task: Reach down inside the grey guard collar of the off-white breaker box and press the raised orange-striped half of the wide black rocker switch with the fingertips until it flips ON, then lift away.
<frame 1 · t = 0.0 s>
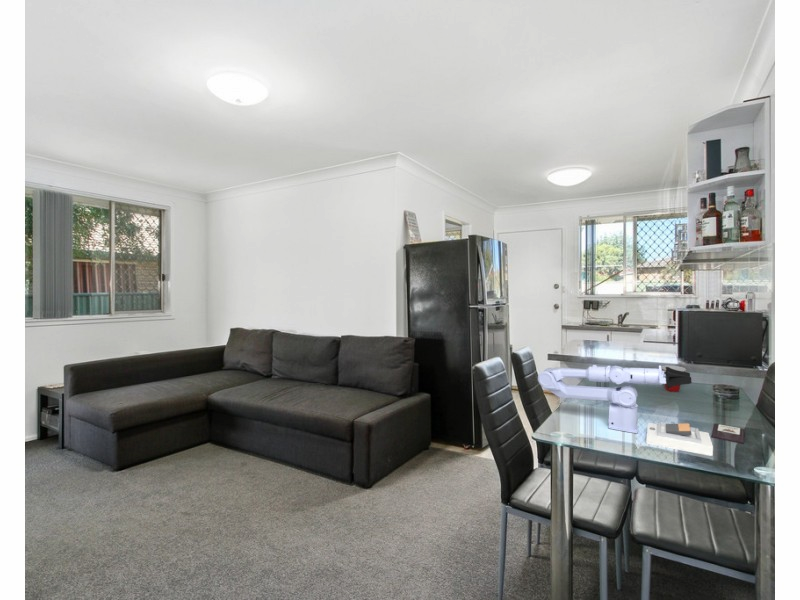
hand: (690, 378, 145), 22 cm above the table, tool horizontal, fingers open, 7 cm apart
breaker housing: (677, 442, 143), on the table
rocker: (678, 430, 143), point 4 cm above the table, hinge at -12.0°
plastic cup: (672, 390, 214), on the table
chocolate bar: (728, 435, 153), on the table
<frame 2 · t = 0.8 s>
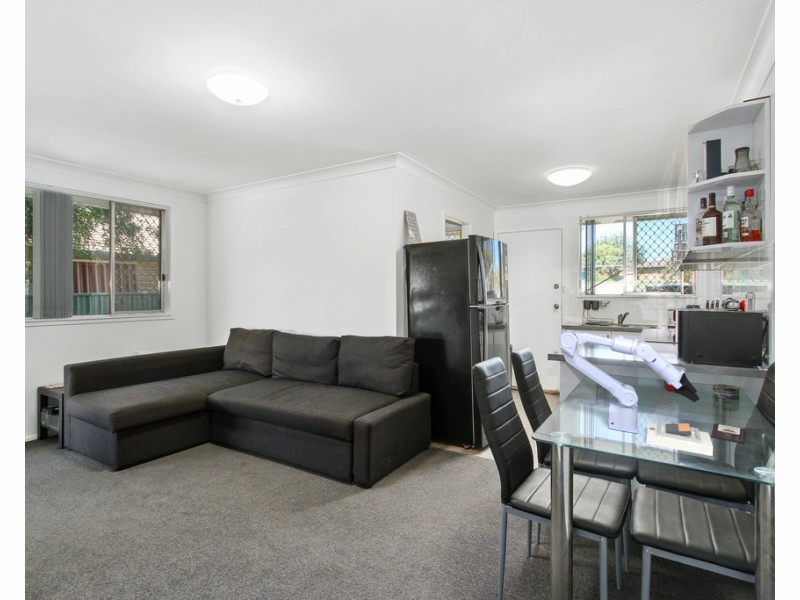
hand: (695, 396, 146), 15 cm above the table, tool tilted 50°, fingers open, 7 cm apart
nothing on the table moved.
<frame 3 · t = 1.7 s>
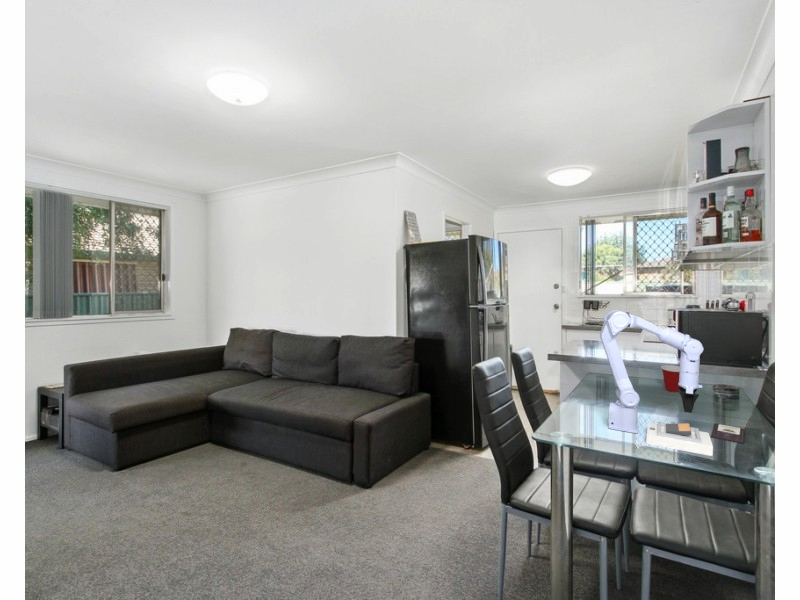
hand: (687, 409, 150), 9 cm above the table, tool pointing down, fingers open, 7 cm apart
nothing on the table moved.
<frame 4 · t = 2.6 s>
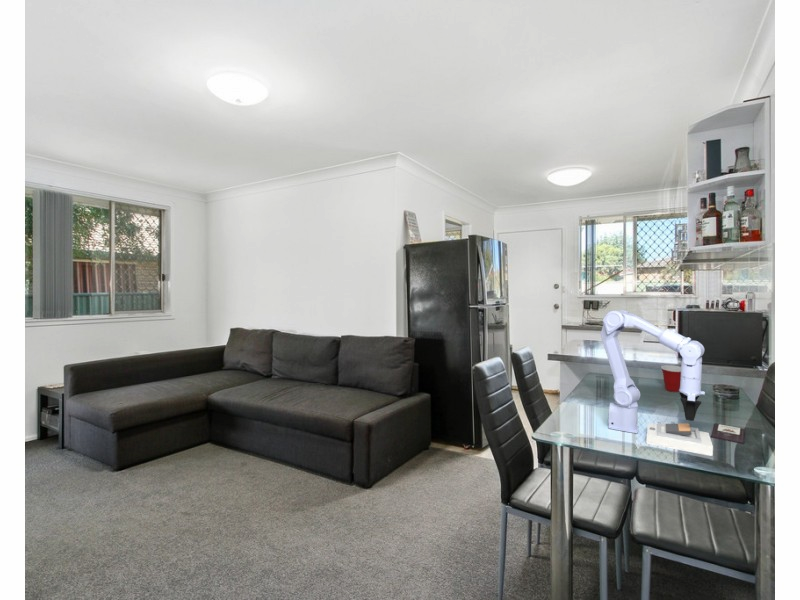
hand: (688, 417, 141), 9 cm above the table, tool pointing down, fingers open, 7 cm apart
nothing on the table moved.
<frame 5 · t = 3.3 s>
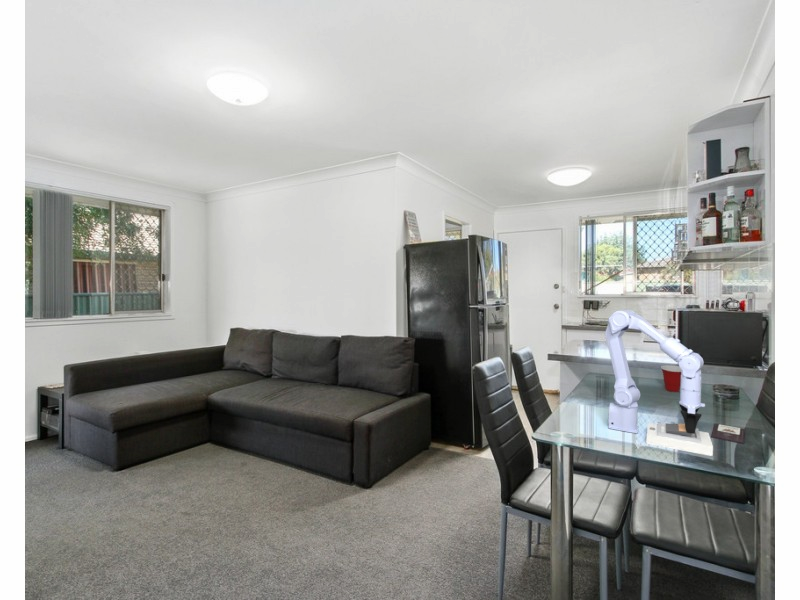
hand: (689, 429, 141), 5 cm above the table, tool pointing down
rocker: (678, 430, 143), point 4 cm above the table, hinge at -9.9°, touching gripper
everything else where it was.
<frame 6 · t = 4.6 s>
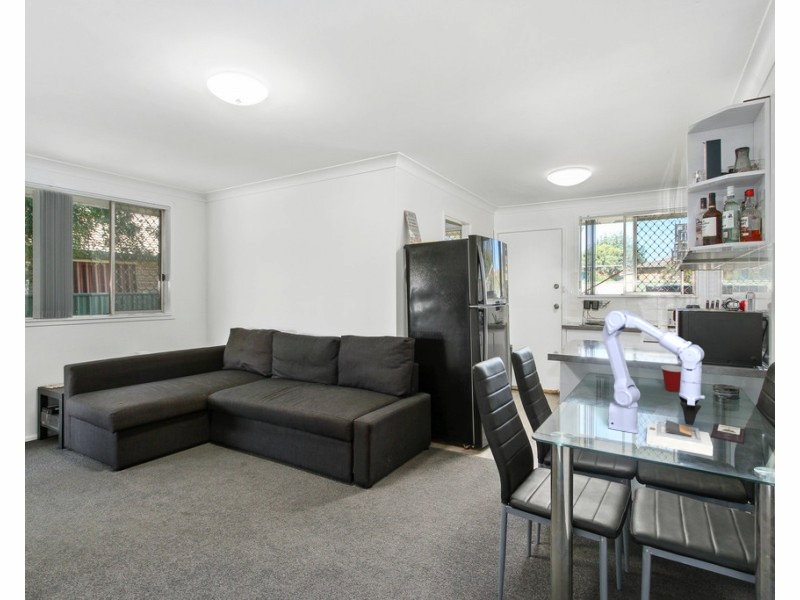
hand: (688, 421, 141), 8 cm above the table, tool pointing down, fingers open, 7 cm apart
rocker: (677, 430, 143), point 4 cm above the table, hinge at 11.7°
everything else where it was.
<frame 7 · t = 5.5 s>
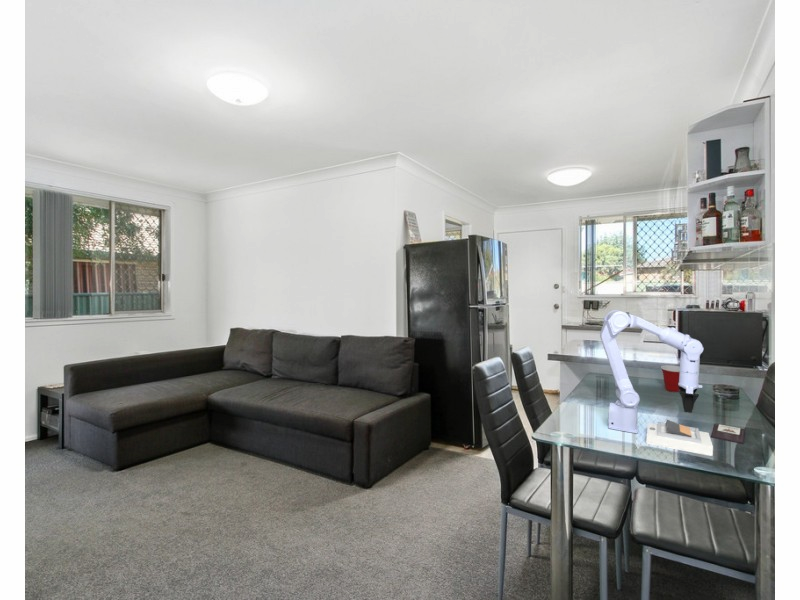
hand: (687, 409, 150), 9 cm above the table, tool pointing down, fingers open, 7 cm apart
rocker: (677, 430, 143), point 4 cm above the table, hinge at 15.5°
everything else where it was.
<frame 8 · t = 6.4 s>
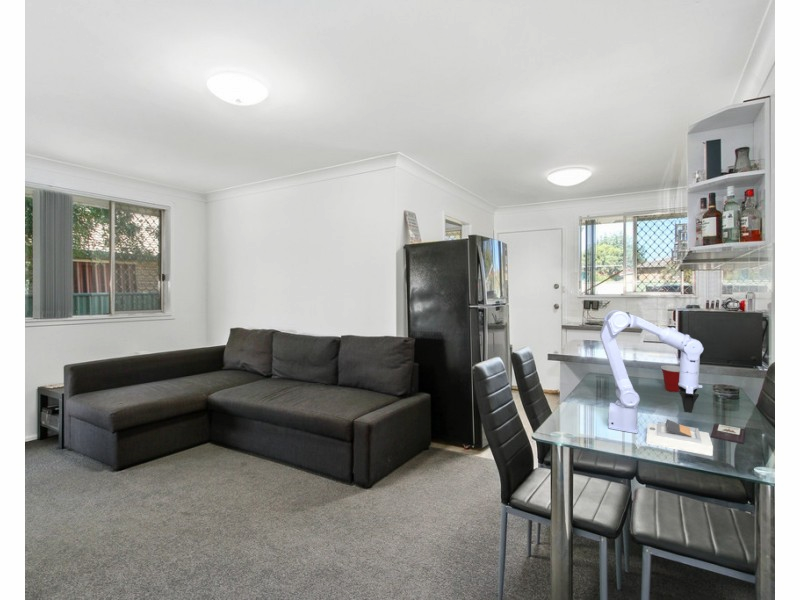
hand: (687, 409, 150), 9 cm above the table, tool pointing down, fingers open, 7 cm apart
rocker: (677, 430, 143), point 4 cm above the table, hinge at 17.6°, touching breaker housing
everything else where it was.
at the end: rocker at +18° (first picture: -12°); chocolate bar moved 0.7 cm from its start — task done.
